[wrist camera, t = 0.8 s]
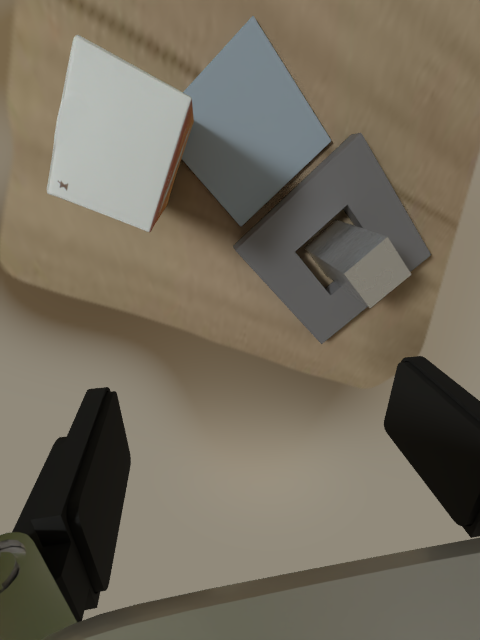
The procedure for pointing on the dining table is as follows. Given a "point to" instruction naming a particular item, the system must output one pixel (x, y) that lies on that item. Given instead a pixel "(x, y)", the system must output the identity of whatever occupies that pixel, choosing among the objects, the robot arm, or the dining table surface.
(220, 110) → the blue pad
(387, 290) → the steel plug
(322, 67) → the dining table surface
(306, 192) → the socket block
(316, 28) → the dining table surface
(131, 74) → the small box
